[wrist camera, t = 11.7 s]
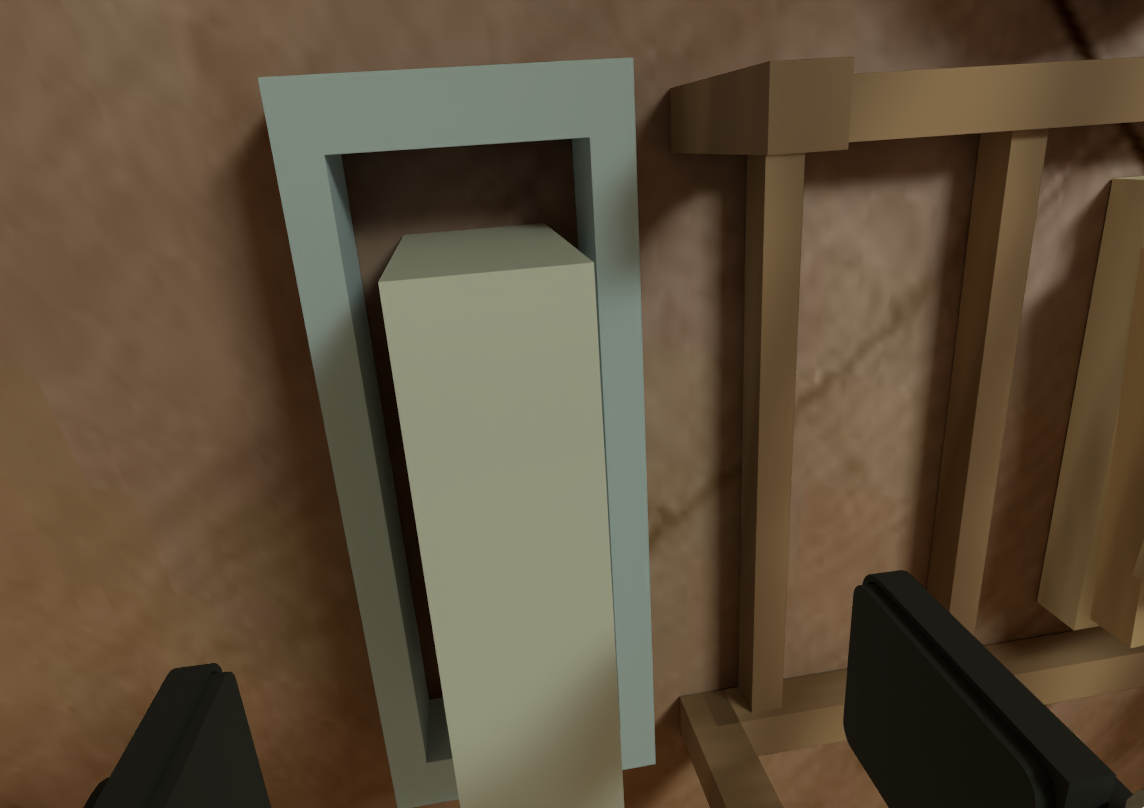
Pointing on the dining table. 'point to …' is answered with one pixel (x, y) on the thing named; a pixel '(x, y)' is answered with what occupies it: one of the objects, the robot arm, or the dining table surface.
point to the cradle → (347, 368)
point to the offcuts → (1105, 445)
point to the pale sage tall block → (510, 507)
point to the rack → (979, 376)
